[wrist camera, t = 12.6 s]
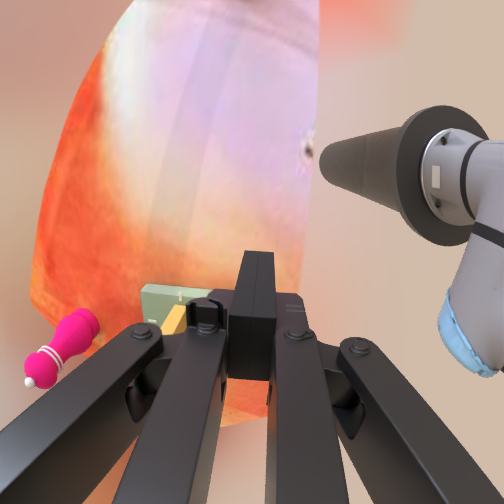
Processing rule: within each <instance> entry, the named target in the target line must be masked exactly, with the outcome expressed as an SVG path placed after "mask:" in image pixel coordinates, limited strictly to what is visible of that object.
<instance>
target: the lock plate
mask: <svg viewBox="0 0 504 504" xmlns="http://www.w3.org/2000/svg"><path fill="white" fill-rule="evenodd" d="M211 291H212V290H210V289H199V288H188V287H178V286H168V285H159V284H150V283H147V284H146V285H145V286H144V287H143V288H142V290H141V291H140V295H141V304H142V311H143V319H144V322H145V323H152V324H155V325H157V326H159V327H160V328H161V327H162V325H163V323H164V322H165V320H166V318H167V317H168V315H169V313H170V312H171V310H172V308H173V307H174V305H183V306H185V304H186V303H187V302H188V301H190V300H192V299H195V298H200V297H207V295H208V293H209V292H211Z"/></svg>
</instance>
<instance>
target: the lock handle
mask: <svg viewBox="0 0 504 504" xmlns="http://www.w3.org/2000/svg"><path fill="white" fill-rule="evenodd" d="M186 327H187V323H186V306H183V305H174V307H173V308H172V310H171V312H170V313H169V315H168V317H167V318H166V320H165V322H164V323H163V325H162V327H161V328H160V329H161V330H162V335H170V334H179V333H183V332H185V329H186Z"/></svg>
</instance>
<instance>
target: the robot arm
mask: <svg viewBox="0 0 504 504" xmlns="http://www.w3.org/2000/svg"><path fill="white" fill-rule="evenodd" d="M418 180H419V187H420V191H421V194H422V197H423V200H424V202H425V204H426V206H427V207H428V209H429V210H430V211H431V213H432V214H433V215H434V216H435V217H437V218H438V219H439V220H441V221H443V222H446V223H448V224H451V225H457V226H464V225H471V224H474V226H473V229H472V232H471V235H470V238H469V241H468V244H467V246H466V249H465V252H464V255H463V257H462V260H461V263H460V265H459V268H458V270H457V273H456V276H455V278H454V280H453V283H452V285H451V287H450V288H449V289H448V291H447V293H446V299H445V302H444V304H443V306H442V309H441V311H440V313H439V317H438V330H439V333H440V336H441V339H442V341H443V343H444V344H445V346H446V348H447V349H448V350H449V351H450V353H451V354H452V355H453V356H454V357H455V358H456V359H457V361H458V362H459V363H461V364H462V365H463V366H464V367H465V368H466V369H468V370H469V371H471V372H473V373H478V374H479V376H481V377H486V378H488V377H492V376H493V375H495V374H497V373H498V372H499V370H501V371H502V372H504V140H483V139H481V138H479V137H477V136H475V135H473V134H471V133H469V132H467V131H464V130H460V129H445V130H441V131H439V132H437V133H435V134H434V135H433V136H432V137H431V138H430V139H429V140H428V141H427V143H426V144H425V146H424V148H423V150H422V153H421V156H420V160H419V167H418ZM475 234H476V235H475ZM490 241H491V242H490ZM492 242H493V243H492ZM185 306H186V323H187V327H186V329H185V332H183V333H179V334H170V335H162V330H161V329H160V327H159V326H157V325H155V324H152V323H145V322H143V323H136V324H133V325H131V326H129V327H127V328H126V329H124V330H123V331H122V332H120V333H119V334H118V335H117V336H115V337H114V338H113V339H112V340H110V341H109V342H108V343H107V344H105V345H104V346H103V347H102V348H100V349H99V350H98V351H97V352H95V353H94V354H93V355H92V356H90V357H89V358H88V359H87V360H86V361H84V362H83V363H82V364H81V365H79V366H78V367H77V368H76V369H74V370H73V371H72V372H71V373H69V374H68V375H67V376H66V377H65V378H63V379H62V380H61V381H60V382H58V383H57V384H56V385H55V386H54V387H53V388H51V389H50V390H49V391H48V392H46V393H45V394H44V395H43V396H42V397H40V398H39V399H38V400H37V401H35V402H34V403H33V404H32V405H31V406H29V407H28V408H27V409H26V410H25V411H24V412H22V413H21V414H20V415H19V416H18V417H17V418H15V419H14V420H13V421H12V422H11V423H9V424H8V425H7V426H6V427H5V428H3V429H2V430H1V431H0V504H82V503H83V502H84V501H85V500H86V498H87V497H88V496H89V495H90V494H91V492H92V491H93V490H94V489H95V488H96V487H97V485H98V484H99V483H100V482H101V481H102V479H103V478H104V477H105V476H106V474H107V473H108V472H109V471H110V470H111V468H112V467H113V466H114V464H116V462H117V461H118V460H119V459H120V457H121V456H122V455H123V454H124V452H125V451H126V450H127V449H128V448H129V446H130V445H131V444H132V443H133V441H134V440H135V439H136V438H137V436H138V435H139V437H138V439H137V441H136V444H135V446H134V449H133V451H132V454H131V456H130V458H129V461H128V463H127V466H126V468H125V471H124V473H123V476H122V478H121V481H120V483H119V486H118V488H117V491H116V494H115V496H114V499H113V501H112V504H206V502H207V496H208V490H209V484H210V479H211V473H212V468H213V461H214V456H215V451H216V444H217V439H218V433H219V428H220V422H221V417H222V411H223V405H224V400H225V394H226V388H227V373H228V378H234V379H246V380H259V381H269V379H270V382H269V389H268V396H267V404H266V405H268V424H267V425H268V426H267V458H266V484H265V504H349V498H348V492H347V485H346V479H345V474H344V468H343V462H342V457H341V450H340V445H339V440H338V436H339V438H340V440H341V442H342V444H343V446H344V448H345V450H346V452H347V453H348V455H349V457H350V459H351V461H352V463H353V465H354V467H355V468H356V471H357V473H358V474H359V476H360V478H361V480H362V482H363V484H364V486H365V488H366V490H367V491H368V494H369V495H370V497H371V499H372V501H373V503H374V504H504V498H502V496H501V495H500V493H499V492H498V490H497V489H496V488H495V487H494V485H493V484H492V483H491V481H490V480H489V479H488V477H487V476H486V475H485V474H484V472H483V471H482V470H481V468H480V467H479V466H478V465H477V463H476V462H475V461H474V460H473V458H472V457H471V456H470V455H469V453H468V452H467V451H466V450H465V448H464V447H463V446H462V445H461V443H460V442H459V441H458V440H457V438H456V437H455V436H454V435H453V434H452V432H451V431H450V430H449V429H448V428H447V426H446V425H445V424H444V423H443V421H442V420H441V419H440V418H439V417H438V416H437V414H436V413H435V412H434V411H433V410H432V409H431V407H430V406H429V405H428V404H427V403H426V401H425V400H424V399H423V398H422V397H421V396H420V394H419V393H418V392H417V391H416V390H415V388H414V387H413V386H412V385H411V384H410V383H409V382H408V380H407V379H406V378H405V377H404V376H403V375H402V374H401V372H400V371H399V370H398V369H397V368H396V367H395V366H394V364H393V363H392V362H391V361H390V360H389V359H388V358H387V357H386V355H385V354H384V353H383V352H382V351H381V350H380V349H379V348H378V346H376V345H375V344H374V343H373V342H372V341H369V340H367V339H365V338H360V337H350V338H347V339H344V340H343V341H342V342H341V343H340V347H336V346H332V345H328V344H324V343H322V342H320V341H318V340H317V337H316V335H315V333H314V331H312V330H311V329H309V326H308V321H307V316H306V312H305V307H304V303H303V299H302V298H301V297H300V296H299V295H298V294H295V293H278V292H276V288H275V269H274V252H261V251H246V250H245V252H244V256H243V259H242V263H241V267H240V271H239V275H238V279H237V283H236V287H235V290H225V289H214V290H212V291H211V292H209V293H208V295H207V297H200V298H195V299H192V300H190V301H188V302H187V303H186V304H185Z"/></svg>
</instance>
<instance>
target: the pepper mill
mask: <svg viewBox="0 0 504 504" xmlns="http://www.w3.org/2000/svg"><path fill="white" fill-rule="evenodd" d="M98 332H99V324H98V321H97V319H96V318H95V317H94V315H93V314H92V313H91V312H89V311H88V310H86V309H83V308H79V309H76V310H75V311H74V312H73V313H72V314H71V315H69V316H65V317H64V318H63V319H62V320H61V321H60V322H59V324H58V326H57V328H56V331H55V334H54V337H53V340H52V341H51V342H50V344H49V345H48V346H42V347H41V349H39V350H38V353H32V354H30V355H29V356H28V357H27V359H26V360H25V363H24V369H25V373H26V376H27V377H28V378H27V379H25V385H26V386H27V387H28V388H30V389H32V388H34V387H35V386H36V387H38V388H41V389H48V388H50V387H52V386H53V385H54V384H55V383H56V381H57V374H59V373H60V371H61V370H63V367H64V366H63V364H64V363H65V361H66V360H67V359H69V358H70V357H72V356H74V355H78V354H81V353H83V352H85V351H86V350H87V349H88V348H89V347H90V346H91V344H92V339H94V338H95V336H96V335H97V334H98Z"/></svg>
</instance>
